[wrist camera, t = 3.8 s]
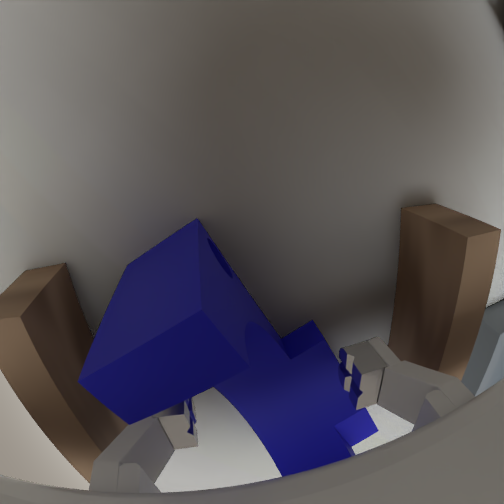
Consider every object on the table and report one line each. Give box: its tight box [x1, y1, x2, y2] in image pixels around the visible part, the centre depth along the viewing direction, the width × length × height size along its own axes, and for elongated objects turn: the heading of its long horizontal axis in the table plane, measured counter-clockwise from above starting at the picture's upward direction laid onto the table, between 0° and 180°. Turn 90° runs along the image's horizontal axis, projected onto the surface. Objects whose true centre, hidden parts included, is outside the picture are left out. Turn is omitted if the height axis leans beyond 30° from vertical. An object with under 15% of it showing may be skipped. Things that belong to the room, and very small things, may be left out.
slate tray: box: [461, 299, 504, 397], centre depth 17 cm, size 17×10×2 cm, turn 7°
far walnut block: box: [388, 204, 501, 381], centre depth 12 cm, size 9×2×4 cm, turn 6°
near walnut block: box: [0, 263, 128, 483], centre depth 10 cm, size 9×2×4 cm, turn 6°
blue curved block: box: [78, 218, 378, 477], centre depth 10 cm, size 12×4×6 cm, turn 30°
